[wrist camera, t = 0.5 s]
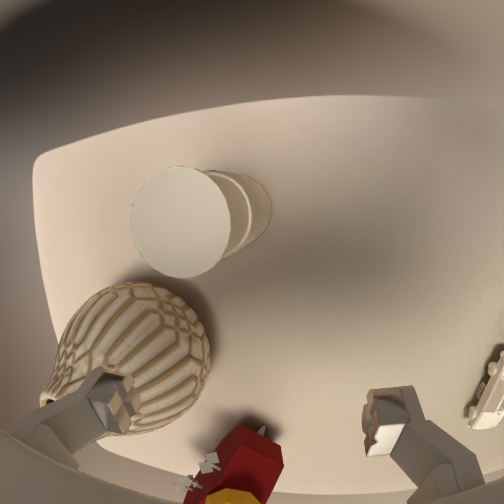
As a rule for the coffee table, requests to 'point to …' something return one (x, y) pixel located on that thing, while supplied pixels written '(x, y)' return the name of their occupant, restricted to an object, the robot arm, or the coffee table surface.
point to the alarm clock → (236, 471)
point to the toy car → (490, 399)
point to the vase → (136, 351)
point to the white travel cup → (196, 218)
